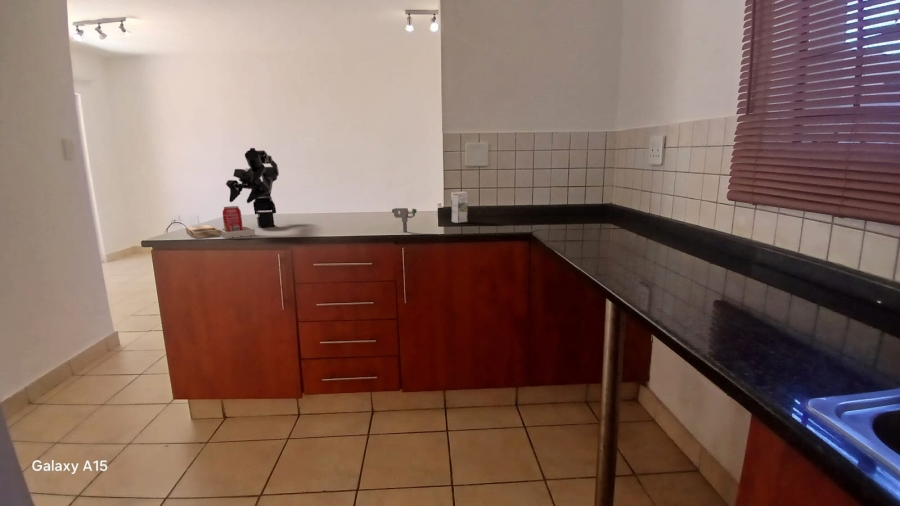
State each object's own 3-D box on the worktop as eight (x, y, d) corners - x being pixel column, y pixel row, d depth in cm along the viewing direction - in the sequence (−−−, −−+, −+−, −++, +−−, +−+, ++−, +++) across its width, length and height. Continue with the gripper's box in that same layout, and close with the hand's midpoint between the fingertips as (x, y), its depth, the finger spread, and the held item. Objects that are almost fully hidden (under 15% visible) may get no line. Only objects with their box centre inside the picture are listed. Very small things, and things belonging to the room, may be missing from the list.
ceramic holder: (248, 231, 206) (247, 226, 205) (255, 235, 197) (254, 229, 196) (219, 234, 199) (218, 229, 199) (225, 238, 190) (224, 232, 190)
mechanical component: (415, 232, 195) (414, 209, 193) (392, 232, 197) (391, 208, 195) (417, 231, 198) (416, 208, 196) (394, 231, 200) (393, 208, 198)
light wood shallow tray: (210, 230, 212) (210, 224, 212) (219, 235, 197) (219, 229, 196) (186, 232, 207) (185, 227, 206) (194, 238, 191) (193, 232, 191)
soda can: (234, 233, 203) (231, 205, 200) (247, 234, 200) (244, 206, 198) (221, 236, 196) (217, 207, 194) (234, 236, 194) (231, 208, 191)
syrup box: (461, 220, 228) (460, 191, 225) (468, 222, 223) (467, 191, 220) (451, 222, 225) (450, 191, 222) (458, 223, 220) (457, 192, 217)
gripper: (226, 161, 203) (209, 189, 196) (261, 162, 197) (244, 191, 190) (241, 178, 212) (226, 205, 205) (275, 179, 206) (260, 207, 199)
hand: (238, 202), depth 199 cm, fingers open, 9 cm apart
